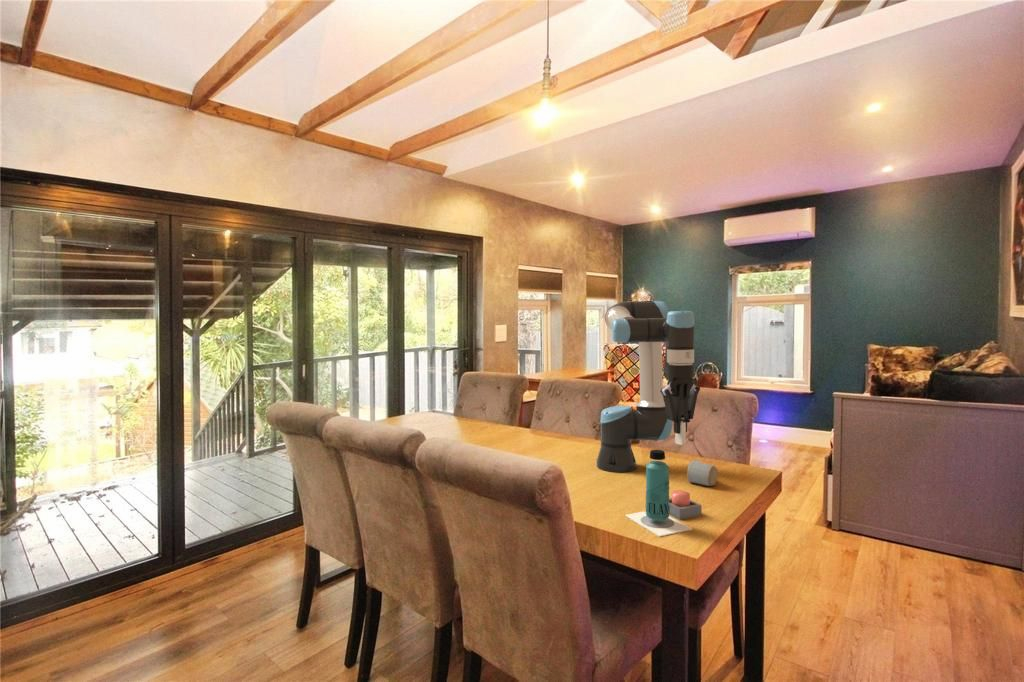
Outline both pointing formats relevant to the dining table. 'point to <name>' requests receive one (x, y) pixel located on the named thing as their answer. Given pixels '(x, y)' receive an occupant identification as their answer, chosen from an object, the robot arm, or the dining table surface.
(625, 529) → the dining table surface
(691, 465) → the ceramic mug
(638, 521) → the paper card
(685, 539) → the dining table surface
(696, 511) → the button base
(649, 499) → the beverage bottle
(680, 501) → the button
